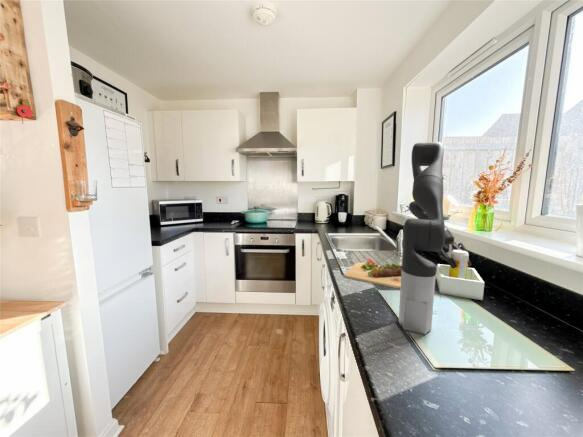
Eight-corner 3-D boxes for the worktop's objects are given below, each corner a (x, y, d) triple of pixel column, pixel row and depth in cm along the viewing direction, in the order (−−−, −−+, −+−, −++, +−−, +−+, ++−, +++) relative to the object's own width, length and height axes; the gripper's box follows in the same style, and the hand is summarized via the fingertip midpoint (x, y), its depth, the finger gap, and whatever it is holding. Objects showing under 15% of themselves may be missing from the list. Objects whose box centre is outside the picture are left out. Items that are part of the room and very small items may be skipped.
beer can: (458, 282, 107) (462, 249, 105) (468, 288, 101) (473, 253, 99) (444, 282, 106) (448, 249, 104) (454, 288, 100) (458, 253, 98)
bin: (482, 300, 93) (484, 282, 92) (439, 293, 99) (441, 276, 98) (472, 283, 108) (474, 268, 108) (436, 278, 115) (437, 263, 114)
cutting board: (342, 278, 116) (343, 263, 115) (357, 265, 136) (357, 251, 135) (426, 295, 98) (428, 277, 97) (429, 277, 118) (430, 262, 117)
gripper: (433, 229, 105) (456, 264, 96) (457, 228, 110) (482, 260, 100) (422, 239, 111) (443, 272, 102) (446, 237, 115) (468, 268, 106)
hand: (462, 266), depth 101 cm, fingers open, 7 cm apart
